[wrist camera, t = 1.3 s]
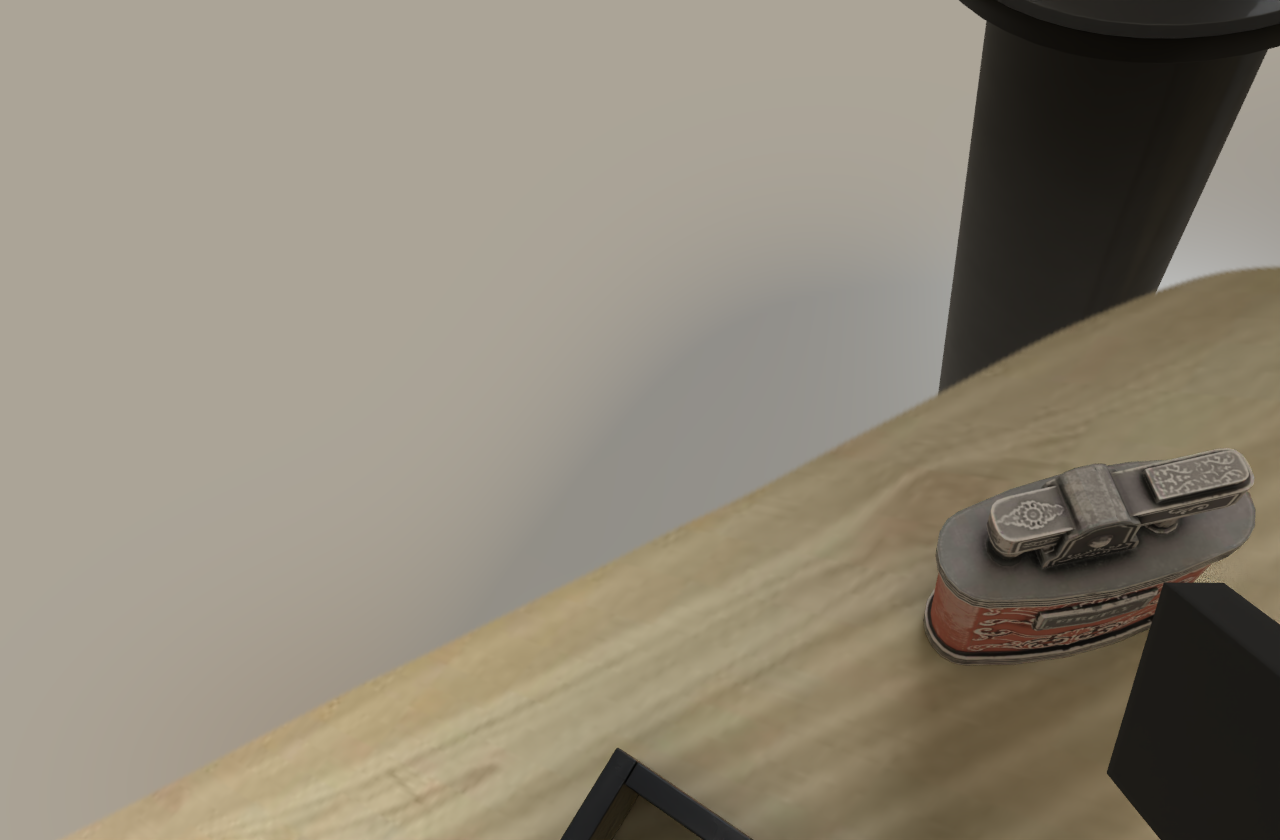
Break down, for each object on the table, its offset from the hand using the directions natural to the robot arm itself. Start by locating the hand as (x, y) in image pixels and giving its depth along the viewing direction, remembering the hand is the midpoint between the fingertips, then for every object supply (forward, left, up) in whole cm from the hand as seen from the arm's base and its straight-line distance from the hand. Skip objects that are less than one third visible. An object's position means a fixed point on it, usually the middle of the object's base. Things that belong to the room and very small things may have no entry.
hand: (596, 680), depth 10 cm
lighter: (-11, +4, -23) cm, 26 cm away
